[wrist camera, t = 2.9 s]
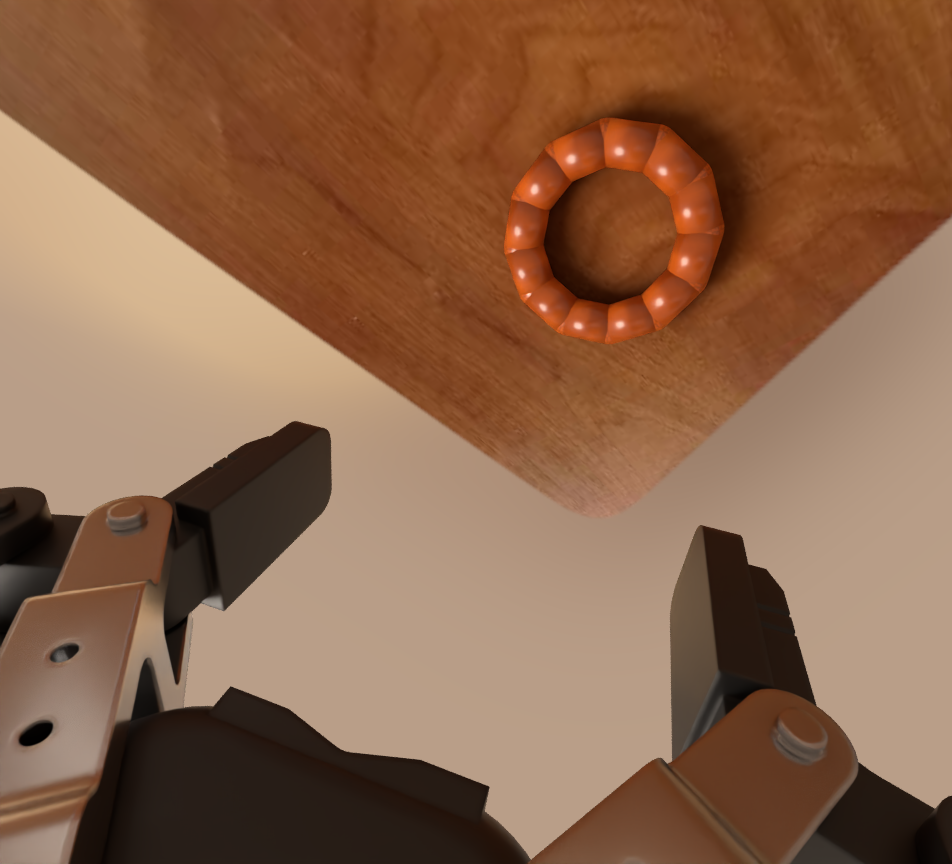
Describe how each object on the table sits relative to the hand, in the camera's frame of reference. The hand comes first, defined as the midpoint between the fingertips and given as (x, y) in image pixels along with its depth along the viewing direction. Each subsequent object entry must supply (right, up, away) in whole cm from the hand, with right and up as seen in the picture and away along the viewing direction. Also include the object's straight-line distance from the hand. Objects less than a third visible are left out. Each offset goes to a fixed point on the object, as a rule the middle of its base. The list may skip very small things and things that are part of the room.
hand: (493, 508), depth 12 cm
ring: (+5, +10, +12) cm, 17 cm away
